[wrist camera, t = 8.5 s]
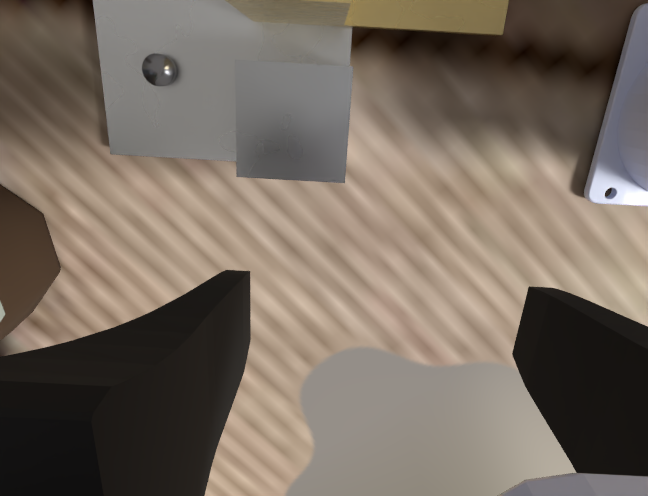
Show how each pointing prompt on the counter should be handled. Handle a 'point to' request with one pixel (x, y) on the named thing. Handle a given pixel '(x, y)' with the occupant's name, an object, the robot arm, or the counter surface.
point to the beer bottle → (23, 260)
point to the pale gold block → (384, 14)
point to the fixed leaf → (225, 87)
